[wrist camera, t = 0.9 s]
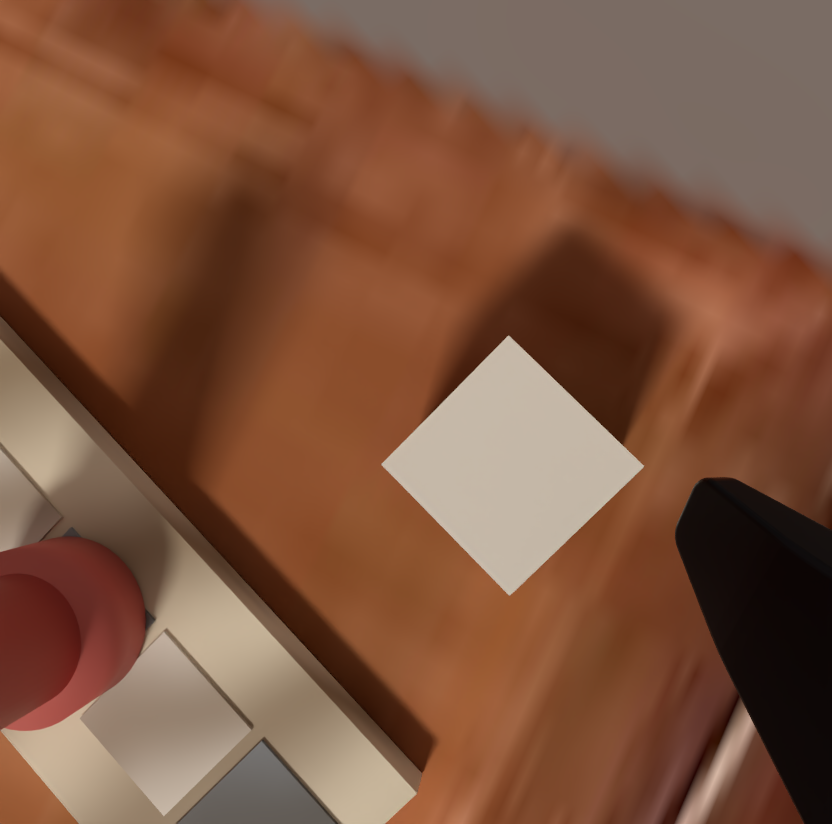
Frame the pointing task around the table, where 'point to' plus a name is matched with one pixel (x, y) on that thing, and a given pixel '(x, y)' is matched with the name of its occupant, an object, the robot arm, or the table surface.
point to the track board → (179, 652)
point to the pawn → (64, 629)
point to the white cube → (511, 465)
